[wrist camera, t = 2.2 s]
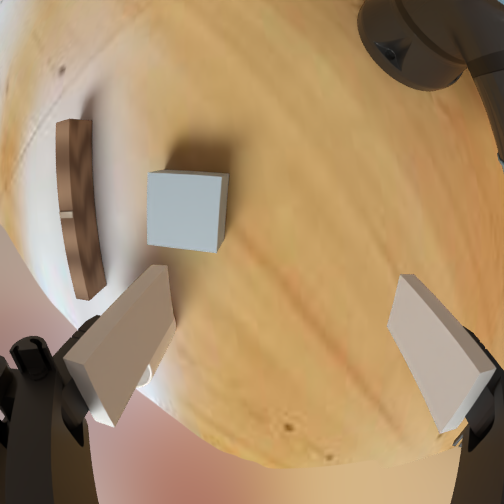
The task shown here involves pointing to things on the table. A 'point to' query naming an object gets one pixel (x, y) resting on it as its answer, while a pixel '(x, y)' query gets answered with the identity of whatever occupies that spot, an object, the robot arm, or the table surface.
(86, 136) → the board
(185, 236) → the block
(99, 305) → the table surface
